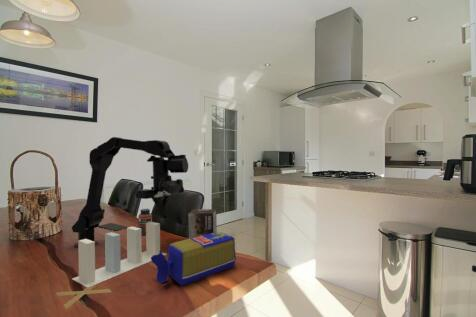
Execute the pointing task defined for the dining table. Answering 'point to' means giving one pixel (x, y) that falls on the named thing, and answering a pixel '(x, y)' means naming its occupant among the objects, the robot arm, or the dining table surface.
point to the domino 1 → (86, 260)
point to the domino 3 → (134, 245)
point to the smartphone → (113, 227)
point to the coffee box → (202, 222)
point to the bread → (196, 258)
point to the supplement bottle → (144, 220)
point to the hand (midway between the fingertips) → (162, 213)
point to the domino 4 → (152, 238)
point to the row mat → (104, 274)
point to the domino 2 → (112, 252)
